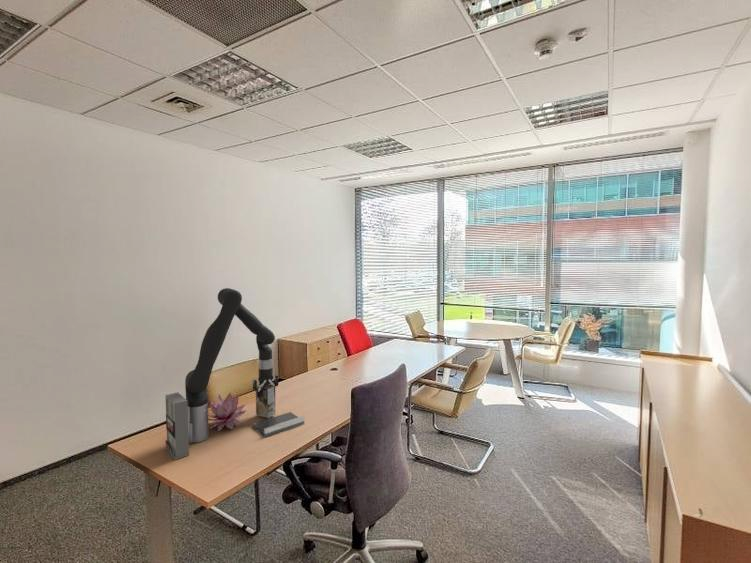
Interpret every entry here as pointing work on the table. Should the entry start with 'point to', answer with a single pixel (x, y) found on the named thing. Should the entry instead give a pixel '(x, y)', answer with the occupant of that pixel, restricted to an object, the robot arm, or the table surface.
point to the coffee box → (266, 401)
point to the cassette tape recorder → (177, 425)
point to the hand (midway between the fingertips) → (265, 395)
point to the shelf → (278, 424)
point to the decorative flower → (225, 412)
